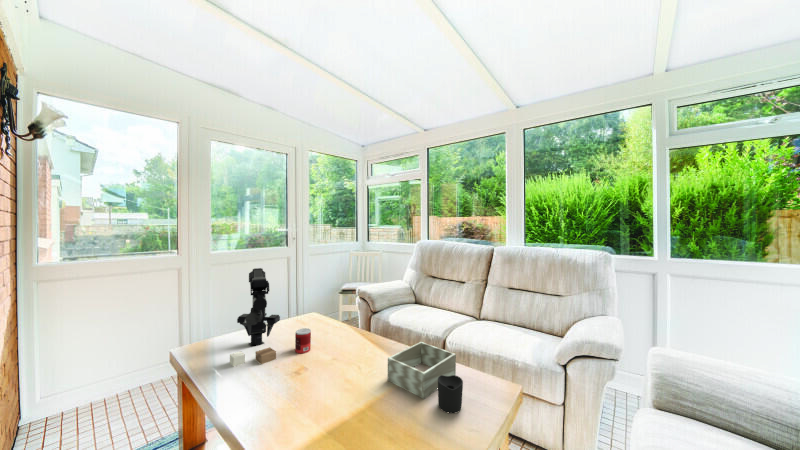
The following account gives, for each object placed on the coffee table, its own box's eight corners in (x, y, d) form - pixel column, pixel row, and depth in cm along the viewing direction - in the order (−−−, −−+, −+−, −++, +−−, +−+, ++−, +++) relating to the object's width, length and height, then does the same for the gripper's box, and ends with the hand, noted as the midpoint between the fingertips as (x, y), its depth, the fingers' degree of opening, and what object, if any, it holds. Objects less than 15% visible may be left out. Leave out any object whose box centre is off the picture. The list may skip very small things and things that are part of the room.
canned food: (312, 348, 160) (313, 328, 160) (306, 355, 152) (307, 334, 152) (299, 347, 161) (299, 327, 161) (292, 354, 153) (292, 333, 153)
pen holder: (445, 396, 118) (445, 371, 118) (466, 405, 112) (467, 379, 112) (432, 407, 111) (433, 381, 111) (454, 418, 105) (455, 390, 105)
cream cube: (229, 364, 141) (229, 354, 141) (240, 361, 145) (240, 351, 145) (233, 368, 138) (233, 357, 138) (244, 364, 142) (245, 354, 142)
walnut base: (255, 359, 145) (255, 351, 145) (269, 355, 151) (269, 347, 151) (261, 364, 141) (261, 356, 141) (275, 359, 146) (276, 351, 146)
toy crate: (387, 380, 129) (387, 357, 129) (420, 361, 147) (420, 341, 147) (423, 399, 116) (424, 373, 116) (455, 375, 134) (455, 353, 134)
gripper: (230, 308, 135) (229, 342, 136) (270, 310, 135) (269, 343, 135) (243, 302, 147) (243, 333, 147) (280, 303, 146) (280, 334, 146)
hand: (258, 336), depth 144 cm, fingers open, 9 cm apart
